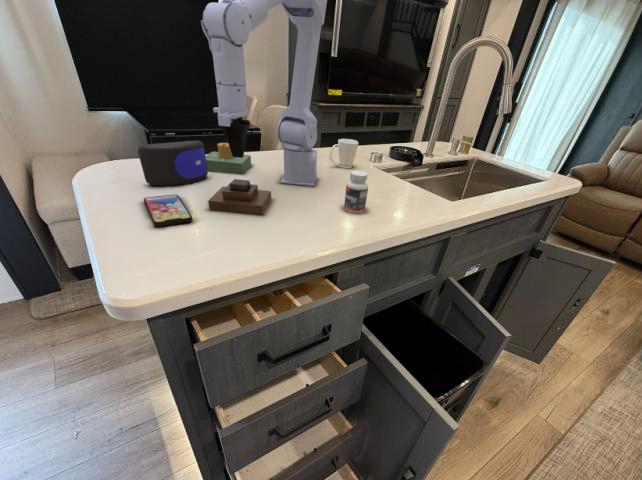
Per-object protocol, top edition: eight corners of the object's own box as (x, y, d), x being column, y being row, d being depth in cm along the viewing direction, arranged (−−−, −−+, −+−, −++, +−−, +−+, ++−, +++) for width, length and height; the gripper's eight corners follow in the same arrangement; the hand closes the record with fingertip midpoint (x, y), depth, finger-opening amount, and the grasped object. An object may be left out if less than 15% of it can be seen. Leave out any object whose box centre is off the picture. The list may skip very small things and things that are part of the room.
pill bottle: (339, 208, 80) (343, 171, 75) (353, 203, 83) (358, 168, 78) (355, 215, 77) (359, 177, 72) (369, 210, 80) (374, 174, 75)
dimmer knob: (221, 154, 98) (219, 141, 96) (235, 156, 99) (234, 142, 96) (216, 158, 95) (215, 144, 93) (231, 159, 95) (230, 145, 93)
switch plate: (271, 199, 81) (270, 183, 78) (262, 215, 73) (261, 198, 70) (223, 195, 80) (221, 178, 78) (209, 210, 72) (206, 192, 70)
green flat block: (251, 165, 103) (250, 154, 101) (242, 174, 95) (241, 163, 93) (213, 161, 103) (212, 150, 101) (202, 170, 95) (200, 158, 93)
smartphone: (177, 194, 76) (193, 217, 66) (178, 197, 76) (193, 221, 67) (142, 197, 72) (153, 223, 63) (143, 201, 73) (154, 227, 63)
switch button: (250, 187, 76) (249, 180, 75) (246, 193, 73) (245, 185, 72) (235, 186, 76) (234, 178, 75) (230, 191, 73) (229, 183, 72)
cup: (359, 168, 110) (362, 143, 105) (334, 170, 106) (336, 144, 101) (349, 163, 115) (351, 138, 110) (324, 164, 111) (326, 138, 106)
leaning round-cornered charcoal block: (152, 190, 79) (141, 148, 73) (145, 184, 81) (134, 144, 76) (214, 180, 89) (209, 142, 83) (206, 175, 91) (201, 139, 85)
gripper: (222, 79, 69) (229, 147, 78) (197, 84, 58) (208, 163, 66) (255, 83, 70) (259, 150, 78) (236, 88, 58) (243, 167, 66)
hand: (238, 156), depth 72 cm, fingers closed
